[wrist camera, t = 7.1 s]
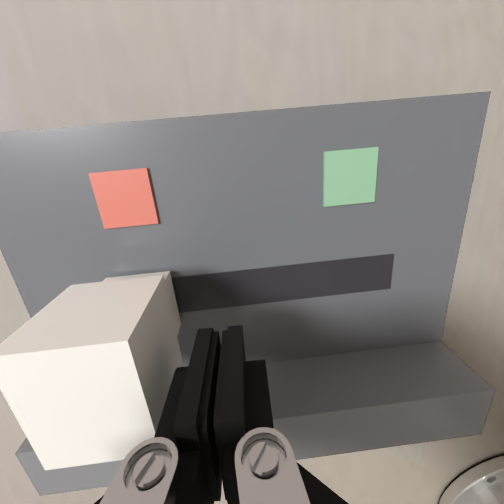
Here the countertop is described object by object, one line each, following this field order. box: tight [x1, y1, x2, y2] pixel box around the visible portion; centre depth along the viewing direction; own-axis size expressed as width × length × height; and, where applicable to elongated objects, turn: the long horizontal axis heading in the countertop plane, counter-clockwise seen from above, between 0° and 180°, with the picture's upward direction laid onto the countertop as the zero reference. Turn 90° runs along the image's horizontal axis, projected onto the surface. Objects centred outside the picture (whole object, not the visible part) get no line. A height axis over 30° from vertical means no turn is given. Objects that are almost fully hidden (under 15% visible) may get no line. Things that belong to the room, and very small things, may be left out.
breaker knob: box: [0, 271, 183, 470], centre depth 10 cm, size 4×4×6 cm
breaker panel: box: [0, 91, 495, 496], centre depth 14 cm, size 22×16×6 cm
